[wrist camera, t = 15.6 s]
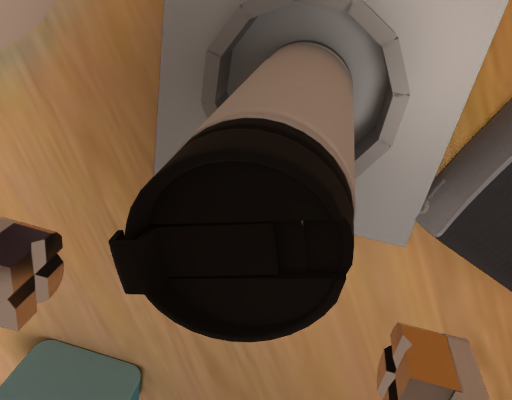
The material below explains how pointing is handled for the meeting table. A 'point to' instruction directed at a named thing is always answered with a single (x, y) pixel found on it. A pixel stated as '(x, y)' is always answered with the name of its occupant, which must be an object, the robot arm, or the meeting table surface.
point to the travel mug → (253, 206)
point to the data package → (70, 375)
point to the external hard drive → (477, 200)
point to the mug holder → (363, 77)
